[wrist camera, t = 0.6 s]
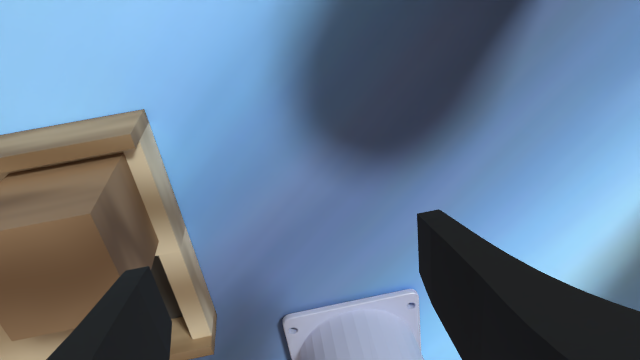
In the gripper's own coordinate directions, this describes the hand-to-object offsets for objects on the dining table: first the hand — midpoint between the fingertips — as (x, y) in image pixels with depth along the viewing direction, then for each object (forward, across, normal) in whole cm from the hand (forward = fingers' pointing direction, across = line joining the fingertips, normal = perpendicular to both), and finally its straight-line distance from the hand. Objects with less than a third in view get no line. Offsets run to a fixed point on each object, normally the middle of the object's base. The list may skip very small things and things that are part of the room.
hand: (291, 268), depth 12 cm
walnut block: (+8, +8, +1) cm, 11 cm away
